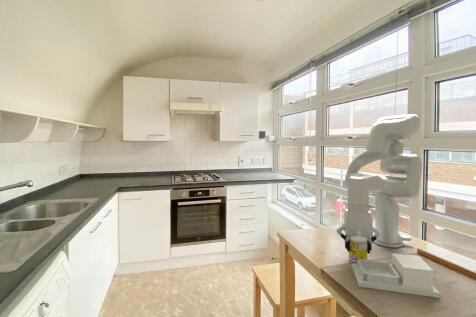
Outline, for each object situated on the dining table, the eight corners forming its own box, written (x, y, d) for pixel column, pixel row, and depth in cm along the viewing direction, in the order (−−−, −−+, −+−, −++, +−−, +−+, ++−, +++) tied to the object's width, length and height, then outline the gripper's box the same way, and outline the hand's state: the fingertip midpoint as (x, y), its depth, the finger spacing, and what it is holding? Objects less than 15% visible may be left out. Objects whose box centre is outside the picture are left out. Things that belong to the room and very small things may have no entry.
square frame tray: (419, 274, 82) (419, 254, 82) (439, 297, 70) (440, 273, 70) (351, 266, 89) (351, 247, 88) (358, 286, 76) (359, 264, 76)
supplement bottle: (345, 256, 96) (345, 226, 96) (360, 255, 97) (360, 225, 96) (354, 264, 90) (354, 232, 89) (371, 263, 90) (371, 231, 90)
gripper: (379, 205, 93) (379, 249, 94) (333, 204, 98) (333, 245, 99) (385, 211, 86) (385, 258, 87) (335, 208, 91) (335, 253, 92)
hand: (357, 250), depth 93 cm, fingers closed on supplement bottle, 6 cm apart
